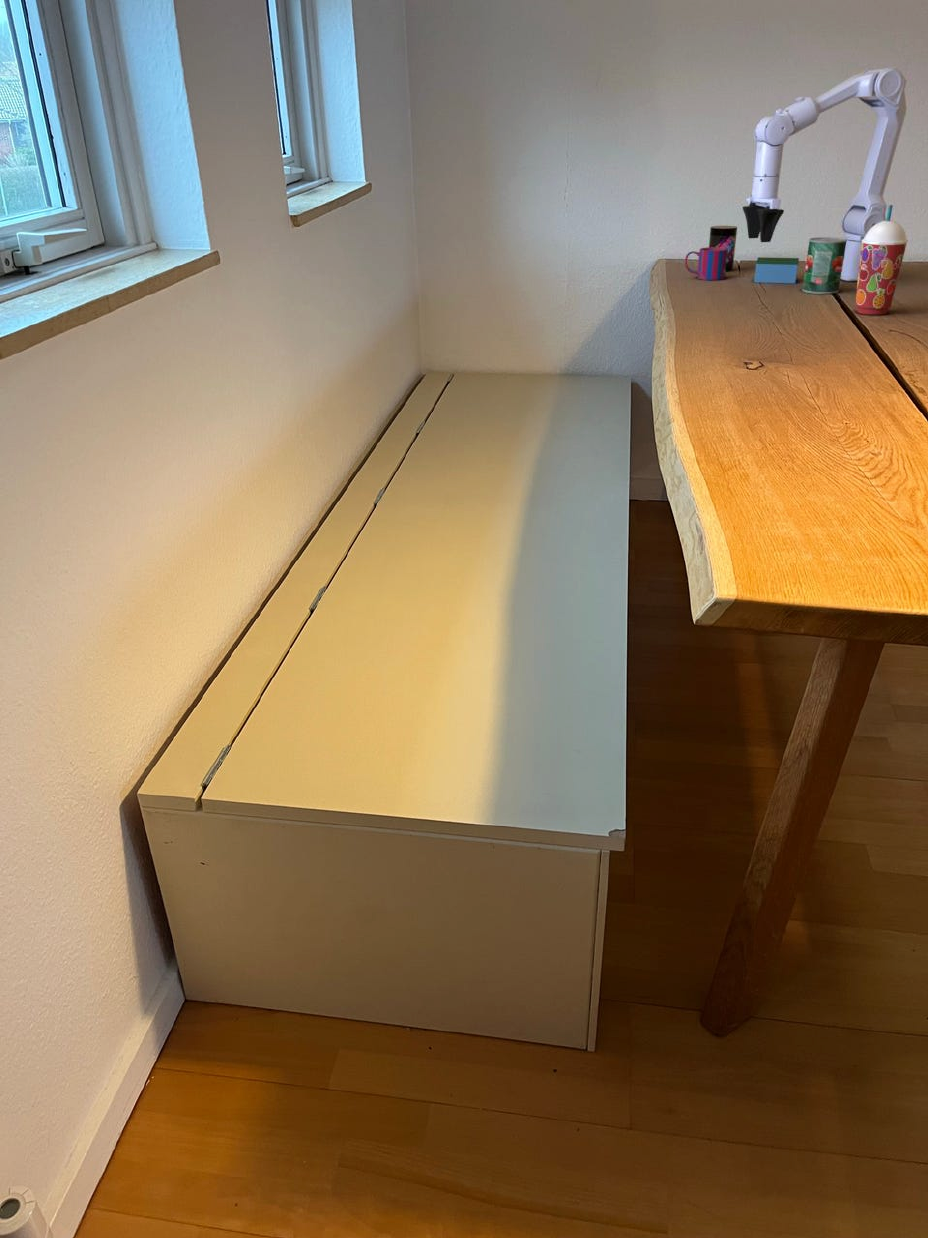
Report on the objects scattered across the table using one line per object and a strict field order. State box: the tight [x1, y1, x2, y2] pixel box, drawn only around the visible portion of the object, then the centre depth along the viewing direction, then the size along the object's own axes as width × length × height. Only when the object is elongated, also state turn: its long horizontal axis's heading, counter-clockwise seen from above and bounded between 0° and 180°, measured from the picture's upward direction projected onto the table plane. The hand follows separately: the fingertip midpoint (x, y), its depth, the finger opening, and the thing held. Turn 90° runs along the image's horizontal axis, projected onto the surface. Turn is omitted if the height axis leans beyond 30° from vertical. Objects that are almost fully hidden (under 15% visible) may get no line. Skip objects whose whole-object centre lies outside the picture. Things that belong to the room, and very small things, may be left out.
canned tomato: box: [801, 236, 847, 295], centre depth 209 cm, size 8×8×11 cm
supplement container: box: [708, 225, 738, 272], centre depth 240 cm, size 7×7×10 cm
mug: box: [684, 246, 728, 281], centre depth 230 cm, size 7×10×7 cm
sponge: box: [753, 256, 800, 284], centre depth 224 cm, size 10×5×5 cm, turn 71°
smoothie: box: [854, 204, 909, 316], centre depth 184 cm, size 8×8×20 cm
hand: (759, 239), depth 217 cm, fingers open, 7 cm apart
